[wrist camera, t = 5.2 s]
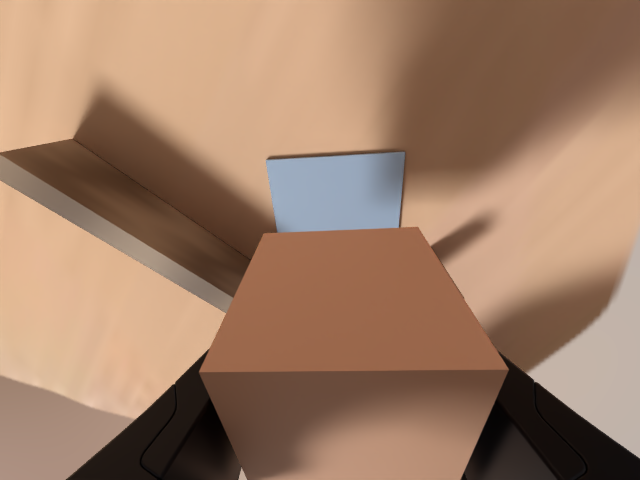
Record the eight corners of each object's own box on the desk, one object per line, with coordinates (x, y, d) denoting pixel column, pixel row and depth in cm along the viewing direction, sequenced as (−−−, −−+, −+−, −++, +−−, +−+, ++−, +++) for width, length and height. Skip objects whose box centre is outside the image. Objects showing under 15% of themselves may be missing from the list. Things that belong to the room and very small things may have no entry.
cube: (403, 336, 11) (452, 497, 7) (283, 337, 11) (253, 494, 7) (417, 226, 9) (508, 369, 4) (263, 233, 9) (199, 372, 4)
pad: (404, 151, 13) (405, 152, 13) (394, 266, 17) (394, 268, 17) (266, 159, 14) (265, 160, 14) (284, 269, 17) (283, 271, 17)
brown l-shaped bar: (439, 259, 16) (464, 298, 13) (337, 335, 20) (338, 379, 17) (133, -22, 10) (52, -68, 7) (65, 156, 14) (-9, 175, 11)
